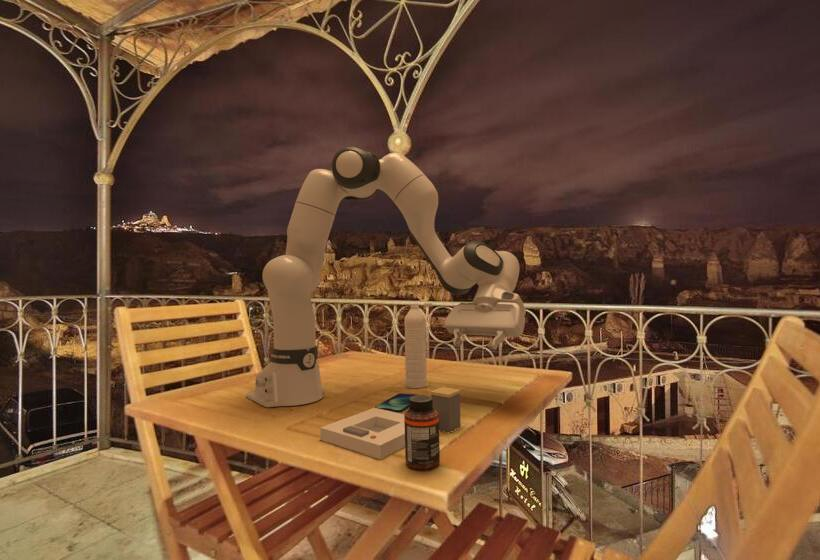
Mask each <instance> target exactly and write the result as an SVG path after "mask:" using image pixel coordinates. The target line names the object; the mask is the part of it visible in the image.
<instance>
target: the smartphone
mask: <svg viewBox="0 0 820 560" xmlns="http://www.w3.org/2000/svg"><path fill="white" fill-rule="evenodd" d="M416 395H417V394H413V393H403V392H400V393H397V394H395V395H393V396H392V397H390V398H387V399H386V400H384V401H382V402H381V403H379V404H377V405H375V406H374V408H378V409H383V410H387V411H391V412H396V413H400V414H402V413H404V411H405V412H406V411H407V410H408V409H409V408H410V406H409V399H410V397H412V396H416Z"/></svg>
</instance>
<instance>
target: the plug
mask: <svg viewBox="0 0 820 560" xmlns="http://www.w3.org/2000/svg"><path fill="white" fill-rule="evenodd" d="M430 397H432V399H433V408H434V409H436V410H437V412H438V416H439V430H441V431H445V432H444V433H446V432H449V433H448V434H451V433H452V432H451V431H453V432H455V431H456V430H455V429H457V428H459V427H460V426H461V389H457V388H452V387H444V386H441V387H438V388H436V389H433V390H431V391H430ZM461 427H462V426H461ZM461 427H460V428H461ZM460 428H459V429H460ZM454 430H455V431H454ZM457 430H458V429H457ZM441 431H440V432H441ZM450 432H451V433H450Z"/></svg>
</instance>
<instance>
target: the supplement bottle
mask: <svg viewBox="0 0 820 560" xmlns="http://www.w3.org/2000/svg"><path fill="white" fill-rule="evenodd" d="M415 395H416V396H412V397H410V399H409V406H410V407H409V408H407V409H406V410H405V412H404V414H405V415H404V423H405V447H404V450H405V451H404V453H405V454H404V455H405V463H406V465H407V467H409V468H411V469H414V470H418V471H419V470H420V471H427V470H431V469H434V468H436V467H437V466H438V465H439V464H440V462H441V461H440V459H441V456H440V455H441V454H440V453H441V452H440V450H441V449H440V431H439V416H438V412H437V410H436V409H434V408H433V399H432V397H431V395H427V394H425V395H424V394H415Z"/></svg>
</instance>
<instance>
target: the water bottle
mask: <svg viewBox="0 0 820 560" xmlns="http://www.w3.org/2000/svg"><path fill="white" fill-rule="evenodd" d="M423 306H424V307H428V308H429V307H433V303H432V302H425V303H424V304H423ZM409 308H410V309H409V310H408V312H407V313H406V315H405V317H404V351H405V352H404V358H405V359H404V364H405V365H404V367H405V368H404V370H405V387H406V388H409V389H423V388H425V387H427V386H428V377H427V376H428V374H427V373H428V372H427V367H428V366H427V360H428V359H427V331H426V329H427V328H426V327H427V322H426V321H427V320H426V317H425V315H424V314H423V312H422V310H421V309H420V306H419V303H410V307H409Z"/></svg>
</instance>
